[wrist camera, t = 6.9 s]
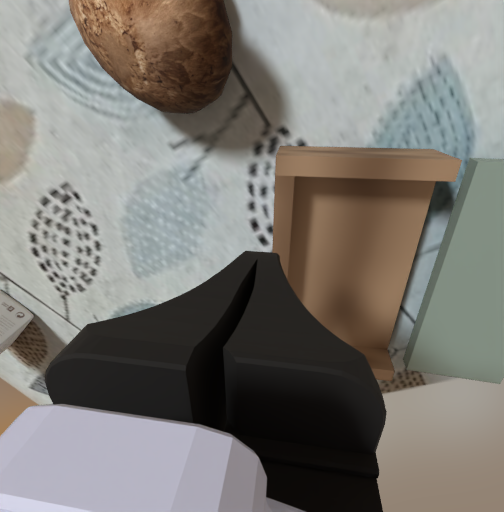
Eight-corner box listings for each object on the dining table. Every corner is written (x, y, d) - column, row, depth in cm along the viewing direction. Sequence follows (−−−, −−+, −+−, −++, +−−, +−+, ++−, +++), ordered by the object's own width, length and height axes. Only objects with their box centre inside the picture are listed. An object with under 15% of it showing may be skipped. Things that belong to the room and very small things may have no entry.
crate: (272, 333, 25) (268, 366, 22) (280, 145, 18) (276, 155, 15) (380, 345, 24) (391, 381, 21) (433, 149, 17) (462, 160, 14)
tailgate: (406, 369, 22) (500, 384, 20) (478, 161, 15) (623, 166, 14) (403, 359, 22) (492, 372, 21) (469, 158, 16) (605, 162, 15)
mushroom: (205, -195, 10) (86, -152, 8) (289, 48, 16) (235, 121, 13) (99, -65, 15) (4, -13, 13) (191, 86, 21) (137, 144, 18)
